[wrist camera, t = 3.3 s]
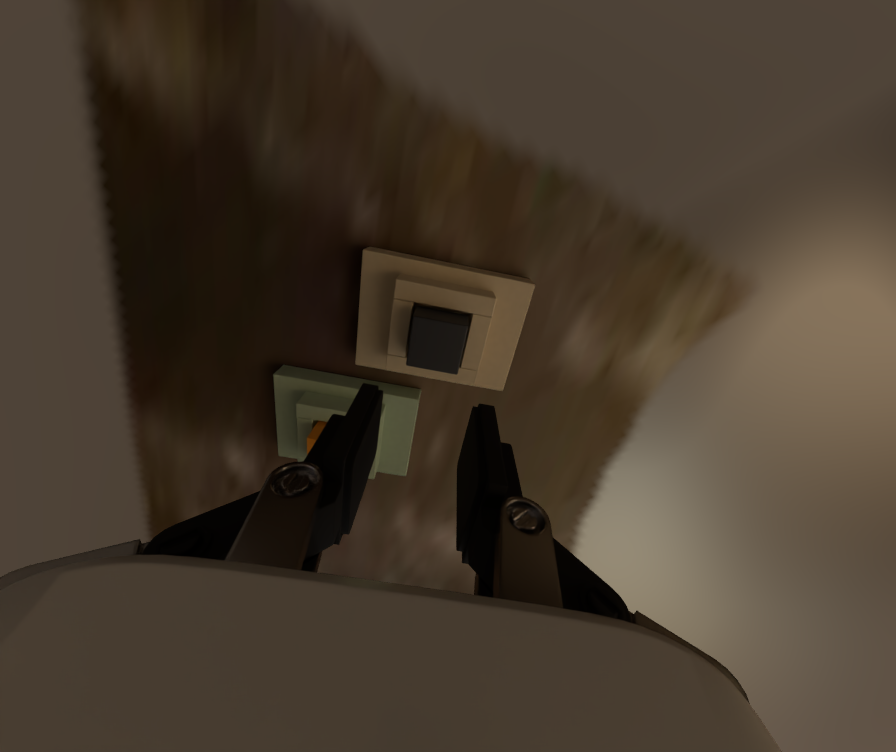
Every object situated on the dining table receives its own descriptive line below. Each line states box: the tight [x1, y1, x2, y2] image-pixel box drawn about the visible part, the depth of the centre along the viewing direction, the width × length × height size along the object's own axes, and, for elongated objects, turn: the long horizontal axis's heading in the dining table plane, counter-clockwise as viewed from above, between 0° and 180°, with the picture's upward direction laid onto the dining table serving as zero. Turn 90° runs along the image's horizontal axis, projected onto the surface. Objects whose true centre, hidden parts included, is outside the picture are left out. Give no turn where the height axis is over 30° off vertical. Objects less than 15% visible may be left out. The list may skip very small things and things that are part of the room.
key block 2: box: [355, 247, 535, 391], centre depth 22 cm, size 11×8×4 cm
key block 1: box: [273, 365, 421, 479], centre depth 27 cm, size 11×8×4 cm
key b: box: [307, 421, 327, 455], centre depth 24 cm, size 3×3×2 cm
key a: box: [406, 306, 468, 375], centre depth 20 cm, size 3×3×2 cm
